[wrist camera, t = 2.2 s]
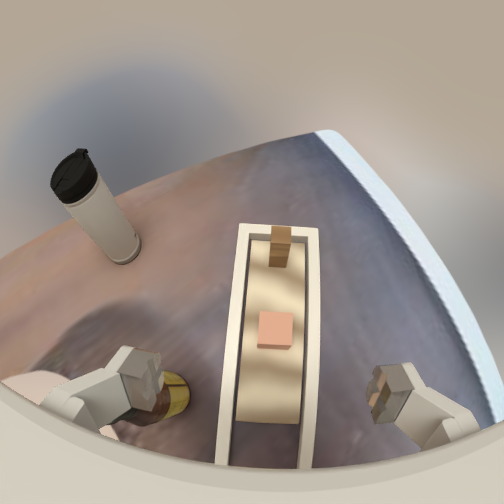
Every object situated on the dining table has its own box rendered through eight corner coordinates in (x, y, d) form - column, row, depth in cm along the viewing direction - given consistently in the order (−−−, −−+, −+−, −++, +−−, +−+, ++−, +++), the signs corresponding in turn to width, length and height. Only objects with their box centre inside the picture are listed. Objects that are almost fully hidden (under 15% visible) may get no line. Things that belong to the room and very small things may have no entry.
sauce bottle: (143, 380, 33) (53, 362, 16) (181, 365, 35) (111, 339, 17) (161, 422, 31) (78, 441, 13) (201, 408, 32) (143, 425, 14)
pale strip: (297, 422, 30) (308, 432, 23) (236, 419, 31) (230, 428, 24) (303, 247, 43) (312, 217, 35) (252, 244, 43) (250, 213, 36)
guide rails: (306, 479, 26) (309, 484, 25) (215, 475, 27) (213, 479, 25) (315, 235, 44) (317, 228, 42) (240, 230, 45) (239, 223, 43)
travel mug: (148, 235, 45) (99, 148, 27) (131, 269, 42) (66, 190, 24) (121, 227, 45) (68, 146, 28) (103, 259, 43) (38, 184, 25)
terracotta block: (288, 349, 34) (291, 345, 31) (257, 348, 34) (257, 343, 31) (289, 320, 36) (293, 312, 32) (259, 319, 36) (259, 311, 33)
